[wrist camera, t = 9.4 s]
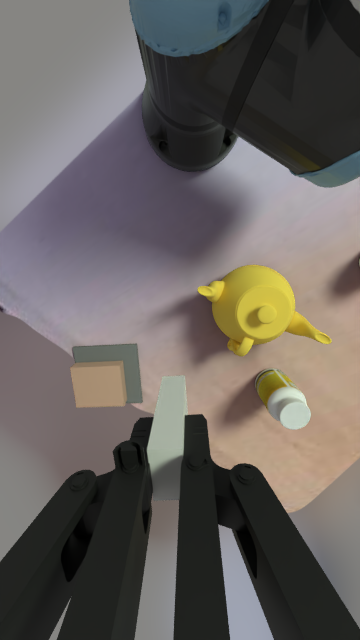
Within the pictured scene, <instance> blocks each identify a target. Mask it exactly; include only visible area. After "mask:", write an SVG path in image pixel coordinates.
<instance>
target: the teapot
mask: <svg viewBox="0 0 360 640" xmlns="http://www.w3.org/2000/svg"><path fill="white" fill-rule="evenodd" d="M198 292H199V293H200V294H201V295H203V296H206V297H207V299H208V300H209V301H211V302H212V312H213V316H214V319H215V322H216V324H217V325H218V327H219V328H220V329H221V331H222V332H223V333H224V334H225V335H227V336H228V337H230V340H229V342H228V345H227V347H228V349H229V350H231V351H233V352H234V353H235V354H236V355H238V356H245V355H246V354H247V353H248V352H249V350H250V349H251V347H252V345H256V344H263V343H267V342H270V341H272V340H274V339H276V338H277V337H279V336H280V335H281V334H282V333H283V332H284V331H286V332H289V333H292V334H295V335H300V336H306V337H309V338H312V339H314V340H316V341H318V342H321V343H324V344H330V343H331V339H330V338H329V337H328V336H327V335H326V334H324V333H322V332H320V331H318V330H317V329H315V328H314V327H313V326H312V325H311V324H310V323H309V322H308V321H307V320H306V319H305V318H304V317H303V316H302V315H300V314H299V313H297V312H296V311H295V298H294V294H293V291H292V289H291V287H290V285H289V283H288V282H287V281H286V279H285V278H284V277H283V276H282V275H280V274H279V273H278V272H276V271H275V270H273V269H271V268H268V267H265V266H260V265H247V266H242V267H240V268H237V269H235V270H233V271H232V272H230V273H229V274H227V275H226V276H225V277H224V278H223V279H222V280H221V281H213V282H211V283H210V284H209V286H208V287H207V286H201V287H199V288H198Z"/></svg>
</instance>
